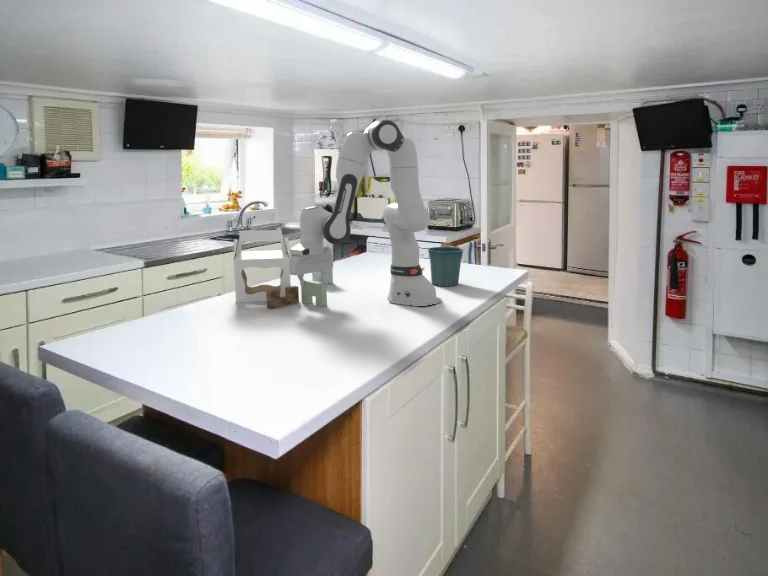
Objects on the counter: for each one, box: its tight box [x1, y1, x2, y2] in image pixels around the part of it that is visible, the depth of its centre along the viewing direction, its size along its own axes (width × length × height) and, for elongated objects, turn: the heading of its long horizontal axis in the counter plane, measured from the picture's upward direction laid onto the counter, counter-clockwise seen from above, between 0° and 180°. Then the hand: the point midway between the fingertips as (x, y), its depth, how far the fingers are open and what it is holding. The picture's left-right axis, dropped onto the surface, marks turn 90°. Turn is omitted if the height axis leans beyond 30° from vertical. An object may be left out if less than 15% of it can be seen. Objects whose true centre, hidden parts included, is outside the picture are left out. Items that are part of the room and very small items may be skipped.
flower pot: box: [427, 246, 465, 287], centre depth 263 cm, size 16×16×16 cm
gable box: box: [233, 229, 292, 303], centre depth 237 cm, size 22×13×28 cm, turn 101°
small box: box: [311, 267, 334, 285], centre depth 267 cm, size 8×6×13 cm
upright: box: [266, 285, 300, 310], centre depth 227 cm, size 14×2×6 cm, turn 139°
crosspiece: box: [300, 279, 328, 308], centre depth 228 cm, size 12×2×9 cm, turn 49°
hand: (312, 283), depth 227 cm, fingers open, 8 cm apart
